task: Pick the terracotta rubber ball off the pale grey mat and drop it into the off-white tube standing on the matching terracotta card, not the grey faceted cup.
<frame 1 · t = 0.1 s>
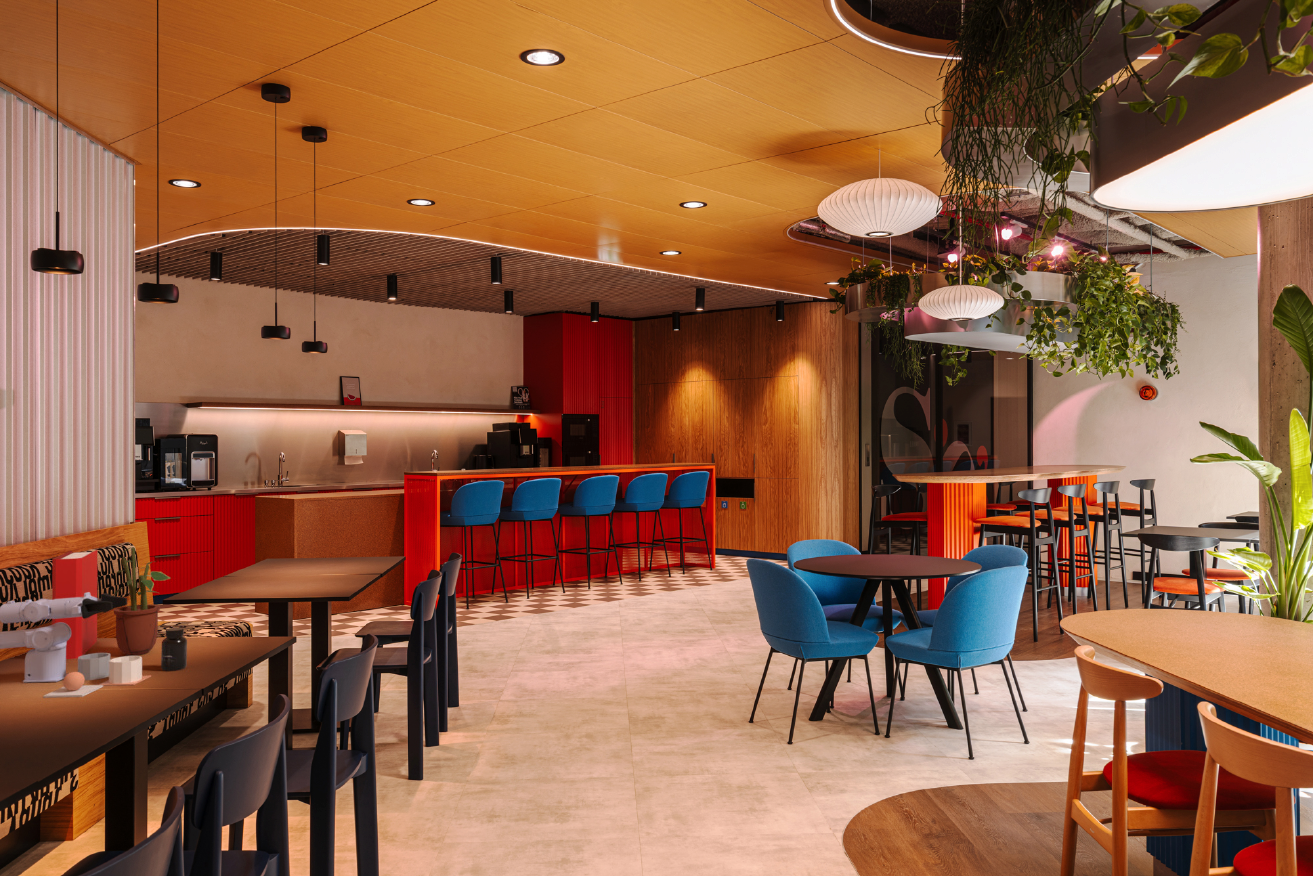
hand: (119, 603, 256), 22 cm above the table, tool horizontal, fingers open, 7 cm apart
book: (75, 651, 292), on the table
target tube: (125, 681, 252), on the table
terracotta ball: (73, 681, 241), point 3 cm above the table, touching ball mat
grey faceted cup: (94, 676, 258), on the table
potted plant: (137, 652, 289), on the table
supplement bottle: (174, 669, 267), on the table
ball mat: (73, 692, 241), on the table
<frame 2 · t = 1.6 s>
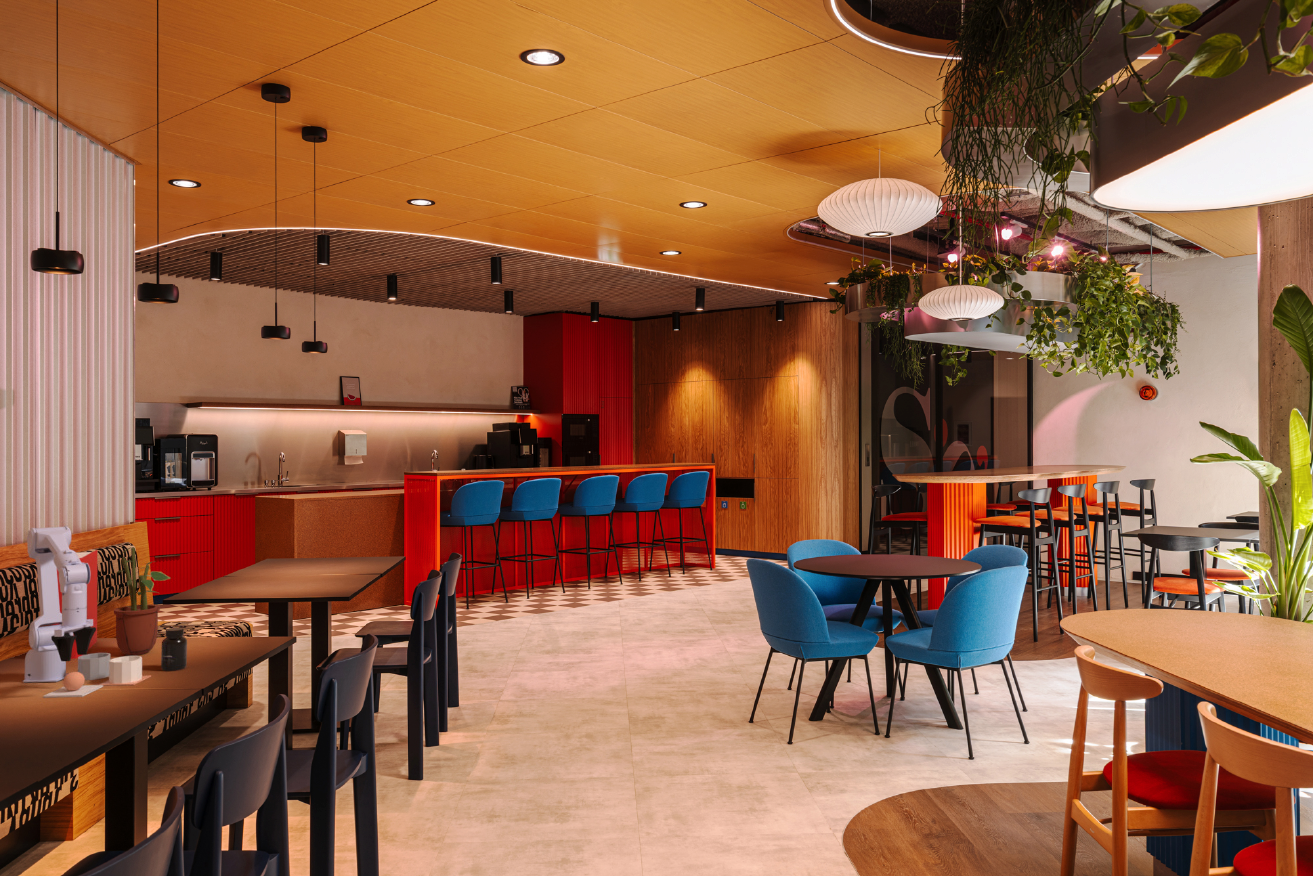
hand: (74, 657, 241), 9 cm above the table, tool pointing down, fingers open, 7 cm apart
nothing on the table moved.
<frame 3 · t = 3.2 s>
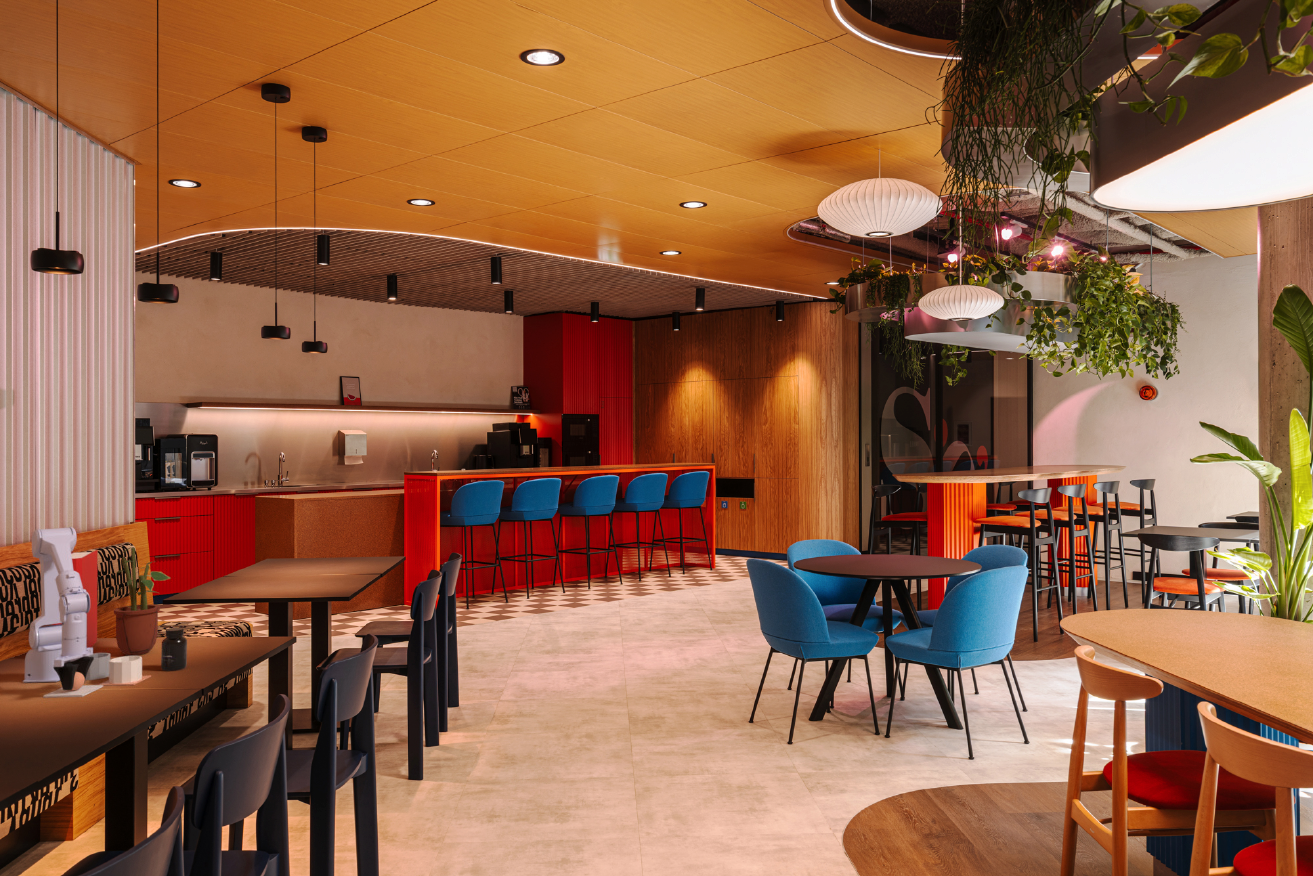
hand: (73, 687, 241), 1 cm above the table, tool pointing down, fingers closed on terracotta ball, 5 cm apart
terracotta ball: (73, 681, 241), point 3 cm above the table, touching ball mat, gripper
everything else where it was.
when the fingers open (8 cm above the table, at t = 6.9 s): terracotta ball drops 6 cm, resting on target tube.
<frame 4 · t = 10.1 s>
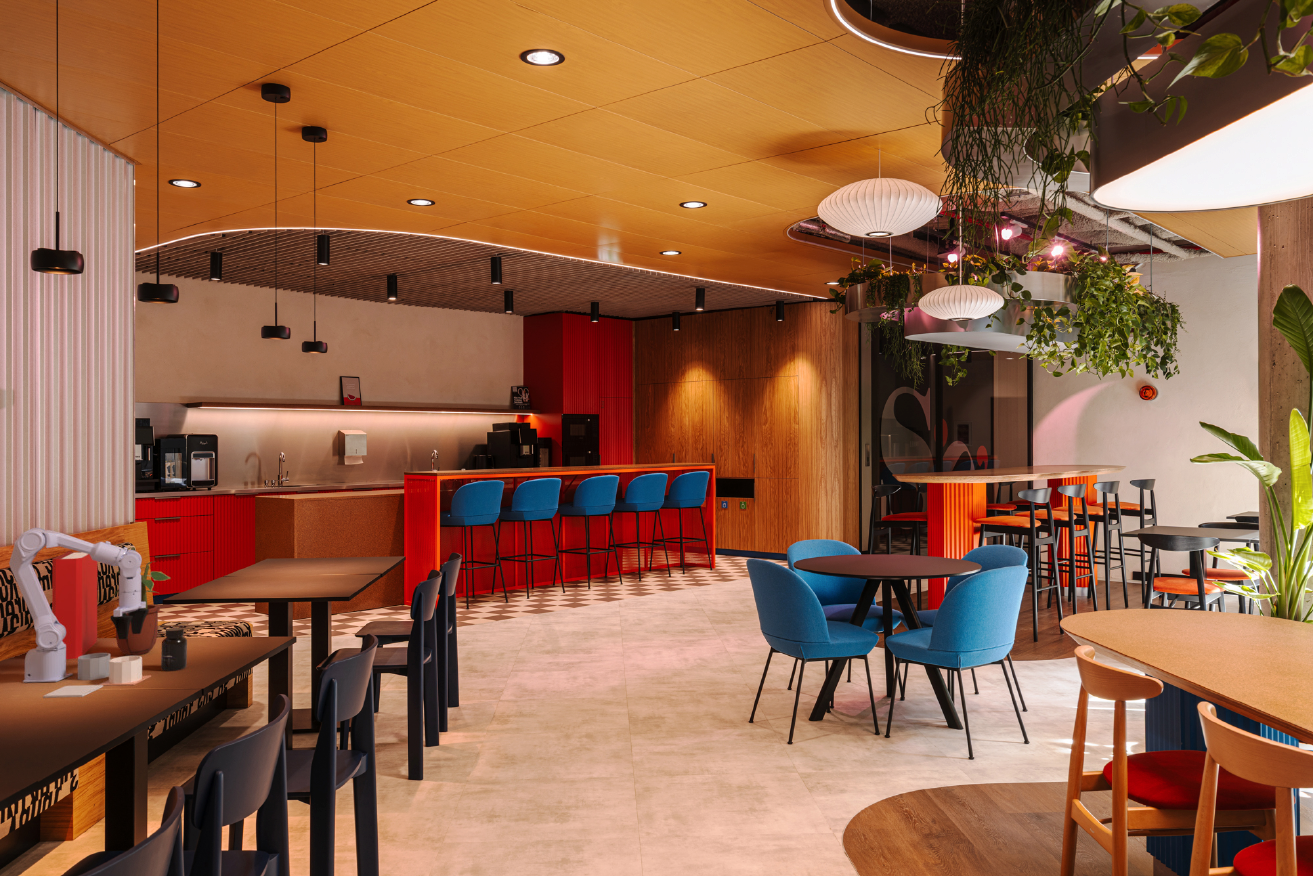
hand: (129, 636, 264), 10 cm above the table, tool pointing down, fingers open, 7 cm apart
terracotta ball: (123, 670, 252), point 3 cm above the table, tilted 21°, touching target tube
everything else where it was.
at the end: terracotta ball 0.9 cm off-centre on the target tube, point 3.3 cm above the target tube's base; the gripper is holding nothing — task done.
